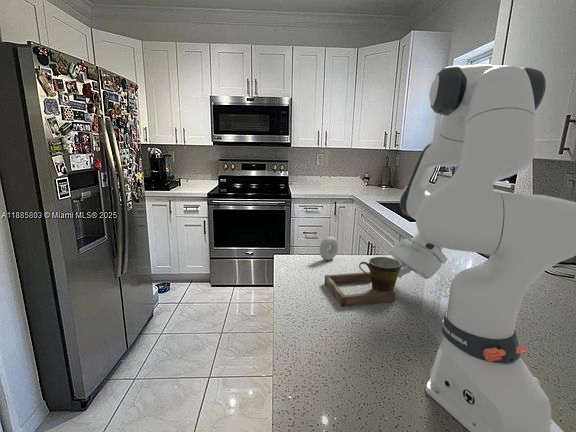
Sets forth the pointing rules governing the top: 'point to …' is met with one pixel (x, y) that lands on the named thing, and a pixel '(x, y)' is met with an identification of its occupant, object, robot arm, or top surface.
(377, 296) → the wooden u-shaped frame
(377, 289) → the ceramic cup
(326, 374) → the top surface
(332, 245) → the donut
